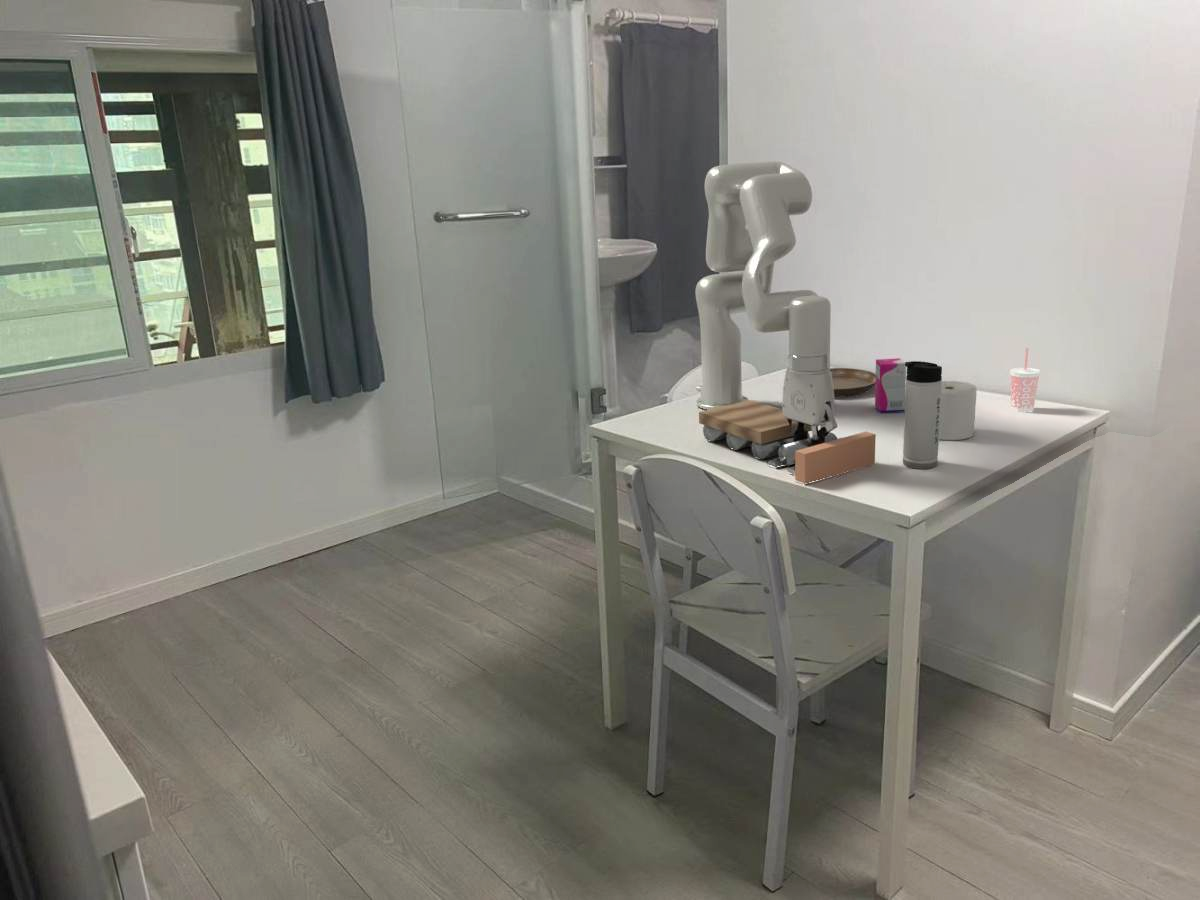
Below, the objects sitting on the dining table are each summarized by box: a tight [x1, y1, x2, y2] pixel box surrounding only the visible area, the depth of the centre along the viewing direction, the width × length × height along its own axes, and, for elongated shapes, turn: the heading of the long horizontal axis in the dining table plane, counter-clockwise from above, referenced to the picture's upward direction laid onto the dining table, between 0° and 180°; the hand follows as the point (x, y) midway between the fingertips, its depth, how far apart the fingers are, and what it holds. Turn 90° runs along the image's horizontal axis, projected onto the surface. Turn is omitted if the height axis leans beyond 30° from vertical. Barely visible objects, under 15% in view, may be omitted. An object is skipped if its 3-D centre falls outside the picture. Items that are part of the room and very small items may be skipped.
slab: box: [698, 399, 812, 444], centre depth 192 cm, size 20×14×2 cm
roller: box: [777, 431, 838, 466], centre depth 179 cm, size 12×4×4 cm, turn 121°
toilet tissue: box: [939, 380, 978, 441], centre depth 191 cm, size 11×12×10 cm
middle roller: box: [726, 433, 753, 451], centre depth 193 cm, size 4×12×4 cm, turn 121°
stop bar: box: [794, 431, 877, 484], centre depth 173 cm, size 2×18×6 cm, turn 121°
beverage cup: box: [1009, 347, 1042, 413], centre depth 203 cm, size 6×6×14 cm
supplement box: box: [874, 357, 907, 414], centre depth 211 cm, size 6×6×12 cm
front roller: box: [751, 432, 811, 460], centre depth 186 cm, size 4×12×4 cm, turn 121°
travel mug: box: [902, 360, 943, 470], centre depth 173 cm, size 6×7×20 cm
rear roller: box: [702, 425, 728, 442], centre depth 199 cm, size 4×12×4 cm, turn 121°
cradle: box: [767, 457, 795, 474], centre depth 180 cm, size 8×14×1 cm, turn 121°
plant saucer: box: [829, 367, 876, 398], centre depth 232 cm, size 21×21×3 cm
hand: (808, 453), depth 179 cm, fingers closed on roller, 4 cm apart
